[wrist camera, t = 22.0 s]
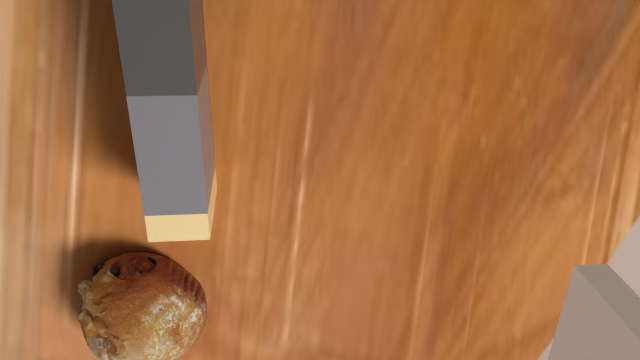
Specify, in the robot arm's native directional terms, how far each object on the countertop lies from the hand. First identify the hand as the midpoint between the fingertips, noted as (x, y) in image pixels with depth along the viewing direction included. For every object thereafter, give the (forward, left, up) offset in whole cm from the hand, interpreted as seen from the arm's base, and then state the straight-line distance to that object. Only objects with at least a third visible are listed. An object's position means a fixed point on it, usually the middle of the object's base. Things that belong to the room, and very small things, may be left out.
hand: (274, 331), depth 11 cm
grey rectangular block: (+6, +4, -29) cm, 30 cm away
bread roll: (+11, +22, -29) cm, 38 cm away
